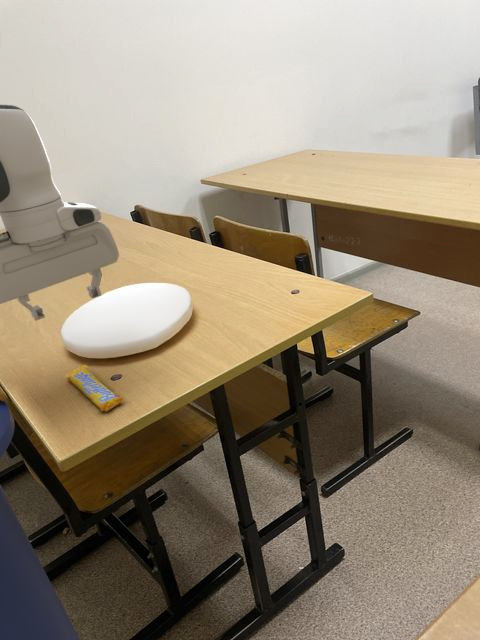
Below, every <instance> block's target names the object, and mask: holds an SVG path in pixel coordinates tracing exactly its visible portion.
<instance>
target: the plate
mask: <svg viewBox="0 0 480 640" xmlns="http://www.w3.org/2000/svg"><path fill="white" fill-rule="evenodd" d="M193 308H194V301H193V298H192V295H191V294H190V292H189V290H187V289H186V288H185V287H183V286H180V285H178V284H174V283H168V282H145V283H144V282H143V283H134V284H130V285H125V286H121V287H119V288H116V289H113V290H110V291H107V292H104V293H103V294H101V296H99V297H97V298H94V299H91V300H89V301H88V302H86V303H84V304H83V305H81V306H80V307H78V308H77V309H76V310H74V311H73V312H72V313H71V314H70V315H68V317H67V318H66V319H65V322H63V324H62V326H61V330H60V337H61V341H62V343H63V347H64V348H65V350H67V351H68V352H71V353H72V354H74V355H76V356H78V357H82V358H88V359H110V358H112V359H113V358H120V357H125V356H131V355H135V354H140V353H144V352H147V351H150V350H154V349H156V348H158V347H159V346H161V345H163V344H164V343H166V342H168V340H170V339H171V338H173V337H174V336H175V335H176V334H178V333H179V332H180V331H181V330H182V329H183V328H184V326H185V325H186V324H187V323H188V322H189V321H190V319H191V317H192V315H193Z"/></svg>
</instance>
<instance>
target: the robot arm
mask: <svg viewBox="0 0 480 640" xmlns="http://www.w3.org/2000/svg"><path fill="white" fill-rule="evenodd" d="M40 135H41V134H40V132H39V131H38V128H37V126H36V124H35V122H34V120H33V118H32V117H31V116H30V114H29V113H28V112H26V111H25V110H24V109H23V108H21V107H19V106H17V105H13V104H0V218H1V221H2V223H3V226H4V229H5V230H6V231H4V232H1V233H0V305H2V304H5V303H8V302H10V301H13V300H17V302H18V303H19V304H21V305H22V306H23V307H25V308H26V309H27V310H28V311H29V312H30V314H31V317H32V319H33V320H34V321H36V322H37V321H39V320H42V319H44V318H46V315H45V313H44V310H43V308H42V307H41V306H40V305H39V304H38V305H37V304H36V305H34V306H33V305H32V304H30V303H29V302H30V301H31V299H30V296H29V295H31V294H33V293H36V292H39V291H41V290H45V289H47V288H49V287H50V288H51V287H52V286H55V285H58V284H60V283H65V282H67V281H68V280H72V279H74V278H77V277H81V276H83V275H86V274H89V275H90V276H91V283H90V285H88V286H86V290H87V292H88V296H89V298H91V300H93V299H95V298H97V297H99V296H101V295H102V292H101V289H100V286H101V281H102V277H103V273H102V270H101V269H102V268H106V267H109V266H111V265H113V264H116V263H117V262H118V260H119V257H120V253H119V249H118V246H117V243H116V241H115V238H114V236H113V234H112V232H111V229H110V228H109V226H108V225H107V224H106V223H104V222H102V221H101V219H102V214H101V211H100V209H99V208H98V207H96V206H95V205H91V204H88V203H82V202H64V200H63V197H62V195H61V192H60V190H59V189H58V188H57V185H56V184H55V182H54V179H53V176H52V165H51V161H50V158H49V156H48V153H47V150H46V147H45V145H44V142H43V140H42V137H41V136H40Z"/></svg>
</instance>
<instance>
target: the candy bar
mask: <svg viewBox="0 0 480 640" xmlns="http://www.w3.org/2000/svg"><path fill="white" fill-rule="evenodd" d="M88 369H89V366H88V365H87V364H82V365H80V366H77V367H75V368H74V369H71V370H69V371H68V372H65V373H63V375H64V377H65V378H66V379H67V380H69V382H71V383H72V384H73V385H74V386H75V387H76V388H77V389H78V390H79V391H81V393H82V394H84V396H86V397H87V398H88V399H89V400H90V401H91V402H92V403H93V404H94V405H95V406H96V407H97V408H98V409H100V412H105V413H107V412H108V411H110V410H112V409H113V408H115V407H116V406H118V405H119V404H121V403H122V402H123V400H124V398H123V396H122V395H120V396H117V395H116V394H115V393H114V392H113V391H111V390H110V388H108V387H107V386H106V385H104V383H102V382H101V381H100V379H98V378H97V377H96V376H95V375H94V374H93V373H92V372H90V370H88Z"/></svg>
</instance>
